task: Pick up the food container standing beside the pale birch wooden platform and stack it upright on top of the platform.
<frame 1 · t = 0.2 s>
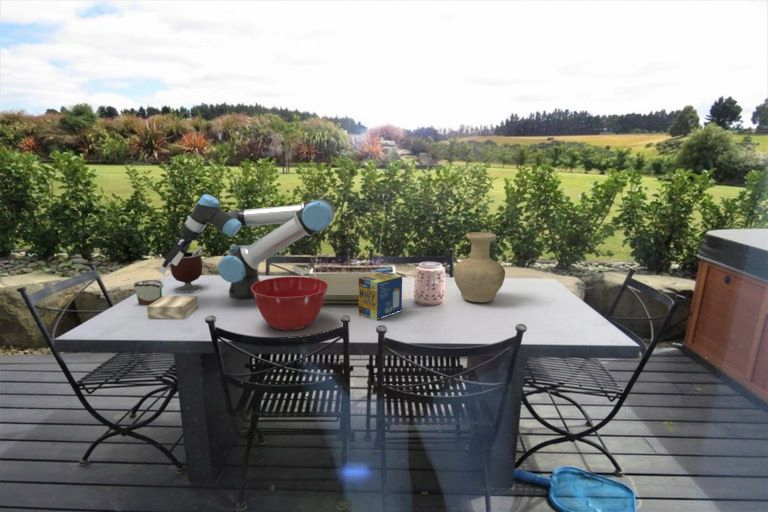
hand: (167, 268, 193), 16 cm above the table, tool tilted 35°, fingers open, 13 cm apart
food container: (153, 304, 195), on the table
protein box: (380, 313, 186), on the table
mate gourd: (190, 289, 217), on the table
birch platform: (174, 312, 184), on the table
mixing bowl: (291, 324, 172), on the table
vase: (477, 300, 204), on the table
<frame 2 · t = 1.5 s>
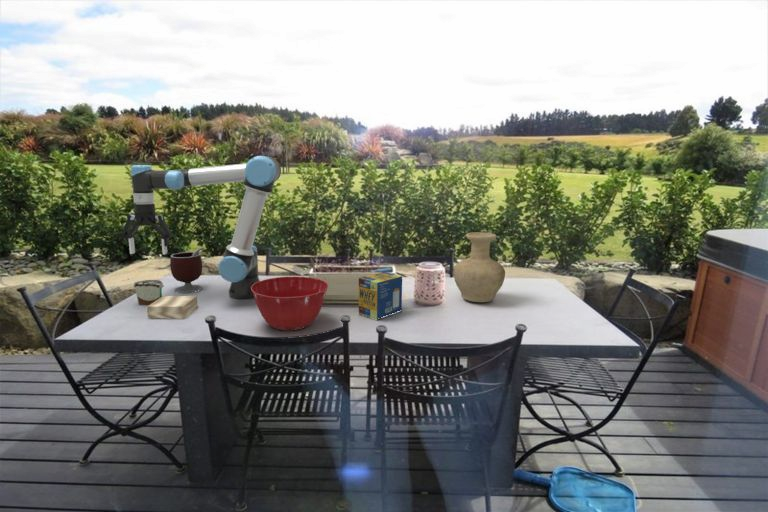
hand: (148, 253, 191), 22 cm above the table, tool pointing down, fingers open, 13 cm apart
nothing on the table moved.
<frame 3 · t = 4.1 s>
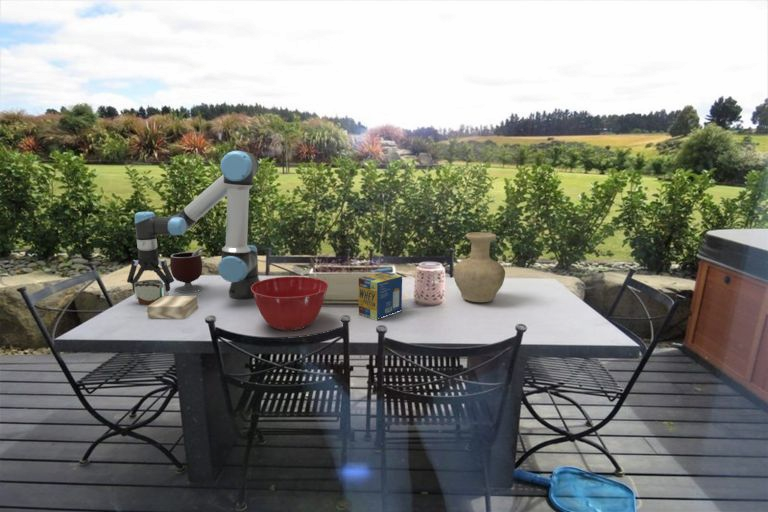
hand: (152, 298, 195), 2 cm above the table, tool pointing down, fingers closed on food container, 11 cm apart
food container: (153, 304, 195), on the table, touching gripper
everything else where it was.
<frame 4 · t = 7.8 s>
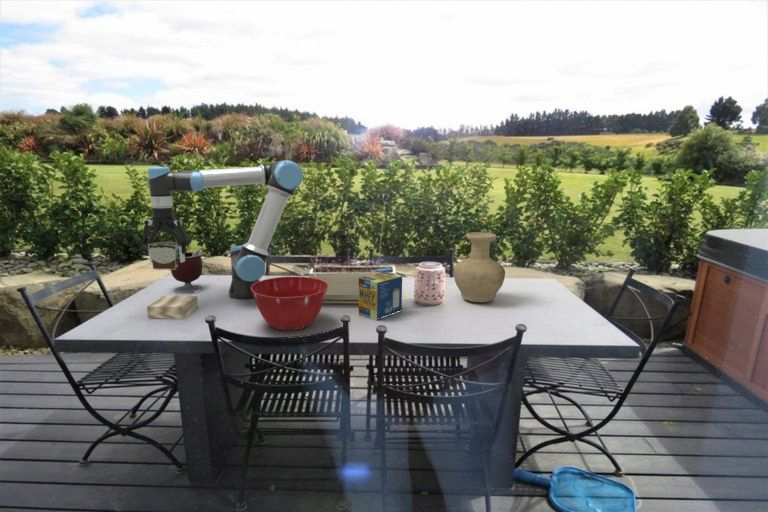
hand: (167, 261, 181), 21 cm above the table, tool pointing down, fingers closed on food container, 11 cm apart
food container: (169, 267, 181), point 19 cm above the table, touching gripper
everything else where it was.
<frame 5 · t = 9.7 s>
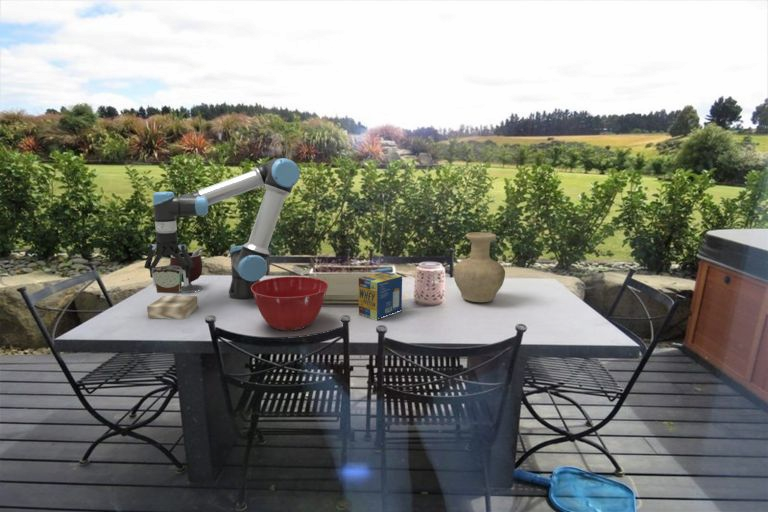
hand: (171, 285, 181), 12 cm above the table, tool pointing down, fingers closed on food container, 11 cm apart
food container: (172, 291, 182), point 9 cm above the table, touching gripper
everything else where it was.
when the fingers open (9 cm above the table, at t = 11.4 s): food container drops 1 cm, resting on birch platform.
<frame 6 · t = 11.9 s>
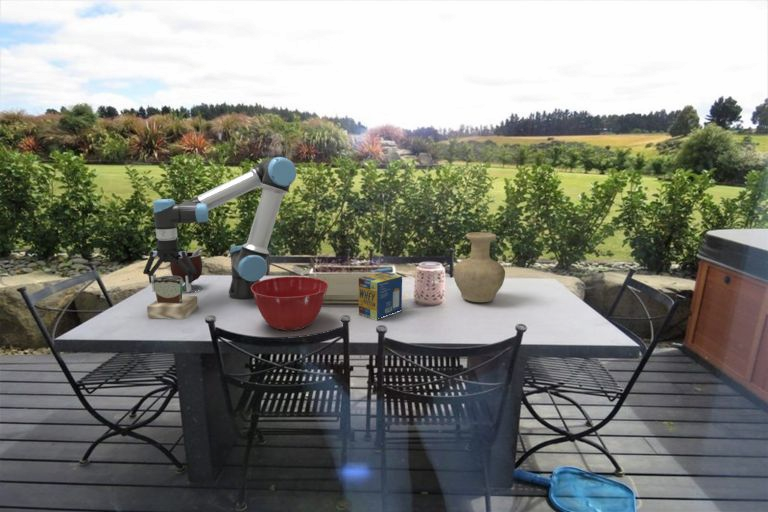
hand: (172, 291, 182), 9 cm above the table, tool pointing down, fingers open, 13 cm apart
food container: (173, 301, 183), point 5 cm above the table, touching birch platform
everything else where it was.
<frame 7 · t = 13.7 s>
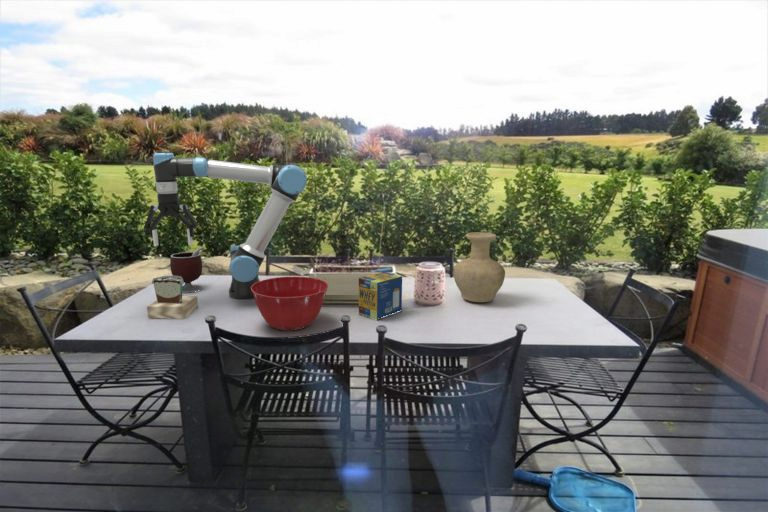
hand: (173, 245, 184), 27 cm above the table, tool pointing down, fingers open, 13 cm apart
nothing on the table moved.
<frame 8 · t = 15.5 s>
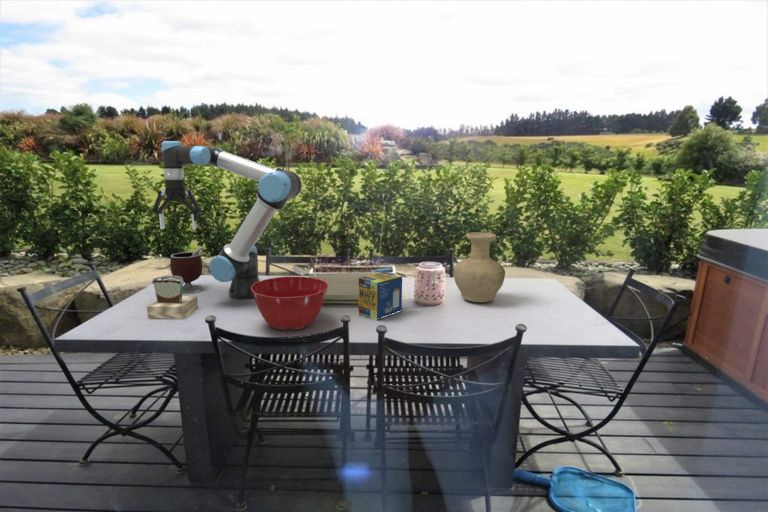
hand: (178, 228, 195), 32 cm above the table, tool pointing down, fingers open, 13 cm apart
nothing on the table moved.
at the end: food container inside the target area on the birch platform (0.2 cm from its centre), point 4.8 cm above the birch platform's base; food container tilted 0°; the gripper is holding nothing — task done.
